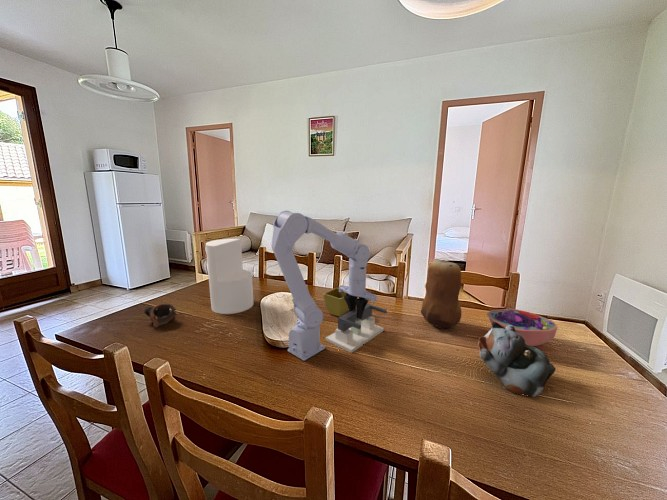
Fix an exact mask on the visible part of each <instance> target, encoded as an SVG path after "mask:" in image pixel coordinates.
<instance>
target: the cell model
mask: <svg viewBox="0 0 667 500" xmlns="http://www.w3.org/2000/svg"><path fill="white" fill-rule="evenodd" d="M486 316H487V318H488V320H489V321H490V324H491V325H492V323H493V322H496V323H498V324H500V325H501V326H502V327H504V328H505V327H507V326H508V325H513V326H514V328H515V331H516V332H517V333H519V334H520V335H522V337H523V338H524V339H525V343H526V345H529V346H532V347H538V346H540V345H543V344H546V343H548V342H550V341H552V340H553V339H554V338H555V336H556V334H557V331H558V328H559V327H558V325H557V324H556V322H555V321H553V320H551V319H548V317H547V318H546V317H544V316H541V315H538V314H535V313H534V312H530V311H525V310H523V309H522V310H521V309H517V308H502V309H491V310H488V312H486Z"/></svg>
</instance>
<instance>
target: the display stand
mask: <svg viewBox="0 0 667 500" xmlns="http://www.w3.org/2000/svg"><path fill="white" fill-rule="evenodd" d="M375 322H376V317H374V316H372V315H371V316H370V317H368V318H366V319H364V320H363V321H361V319H359V318H357V319H355V323H357V324H359V325H361V328H360V329H357V328H355V327H351V328H349V329H347V330H346V331H341V330H339V329H338V327H337V328H335V331H334V332H332V333H331V334H329V335H327V336H326V337H325V341H327V342H328V343H331V344H332V345H334V346H336V347H339V348H340V349H343V350H345V351H346V352H349V353H350V352H351V354H352V353H353V352H355V351H356V350H358V349H359V348H361V347H362V346H363V344H364V345H365V344H366V343H368V342H370V341H371V340H372V339H373V338H375V337H376V336H378V335H379V334H381V333H382V332H383V331H384V330H385V328H384V327H382V326H380V325H378V324H377V325H376V323H375Z"/></svg>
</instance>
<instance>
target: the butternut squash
mask: <svg viewBox="0 0 667 500" xmlns="http://www.w3.org/2000/svg"><path fill="white" fill-rule="evenodd" d="M461 286H462V270H461V267H460V266H459V264H457V263H454V262H452V261H451V262H450V261H447V260H440V259H438V260H437V259H436V260H434V261H432V262H431V263H430V264H429V266H428V268H427V277H426V282H425V285H424V288H425V291H426V293H425V296H424V299H423V300H422V303H421V310H420V314H421V315H422V317H423V318H424V320H425V321H426V322H427V323H428V324H430V325H432V326H434V327H438V328H439V329H444V328H447V329H449V328H453V327H454V326H456V325H458V324H459V323H460V321H461V320H462V307H461V304H460V300H459V296H460V295H459V294H460V291H461Z"/></svg>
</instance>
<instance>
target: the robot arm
mask: <svg viewBox="0 0 667 500" xmlns="http://www.w3.org/2000/svg"><path fill="white" fill-rule="evenodd" d="M272 226H273V227H272V229H273V231H272V236H271V237H272V238H271V250H272V252H273V254H274V257H275V259H276V261H277V264H278V266H279V268H280V271H281V273H282V276H283V278H284V281H285V282H286V285H287V287H288V290H289V291H290V294H291V296H292V298H293V299H292V304H293V313H294V314H295V315H296V316H297V317H296V324H295V325H294V327H293V328H292V329H290V330H289V333H288V348H287V352H288V353H291V355H294V356H296V357H297V358H299V359H300V360H302V361H304V362H305V361H307V360H308V359H310V358H311V357H312V358H313V356H315V355H317V354H319V353H320V352H321V351H323V350H325V349H326V346H325V345H324V344H323V343H322V344H321V341H320V340H321V339H320V338H321V336H320V335H321V333H320V331H321V330H320V328H321V327H320V326H321V324H322V322H323V320H324V313H323V310H321V309H320V308H319V307H318V305H317V304H316V302H315V300H314V299H313V297H312V296H311V294H310V292H309V289H308V287H307V286H308V285H307V284H306V282H305V279H304V277H303V273H302V272H301V269H300V266H299V264H298V262H297V258H296V257H295V254H294V252H293V247H294V245H295V244H296V242H297V241H298V240H299V239H300V238H301V237H303V235H304V234H307V235H309V234H311V233H312V234H313V235H316V236H317V237H320V238H322V239H324V240H326V241H328V242H329V244H330V247H331V248H332V249H334V250H335V251H338V252H339V253H341V254H343V255H345V256H346V257H347V258H349V259H348V285H345V284H342V285H339V286H338V288H339V292H344V293H346V296H344V299H345V301H346V303H347V305H348V308H349V309H348V312H350V311H352V310H354V309H356V308H357V318H361V317H362V315H363V312H364V309H365V307H366V305H367V303H368V304H369V302H370V303H376V302H377V294H374V293H372V292H370V291H368V290H366V287H367V286H366V285H367V265H368V261H369V259H370V257H371V254H372V253H371V252H370V249H369V247H368V246H367V245H366V244H363V243H361V242H359V241H360V240H359V239H357V238H352V237H351V236H350V235H349V233H348V232H346V231H337V232H334V231H333V230H331V229H330V228H328V227H326V226H325V225H323V224H322V223H321V222H319V221H317V220H316V219H313V218H312V217H309V216H306V215H304V214H302V213H299V212H292V211H290V210H283V211H280V212H279V213H278V214H277V216H276V217H275V219H274V221H273V223H272Z"/></svg>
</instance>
